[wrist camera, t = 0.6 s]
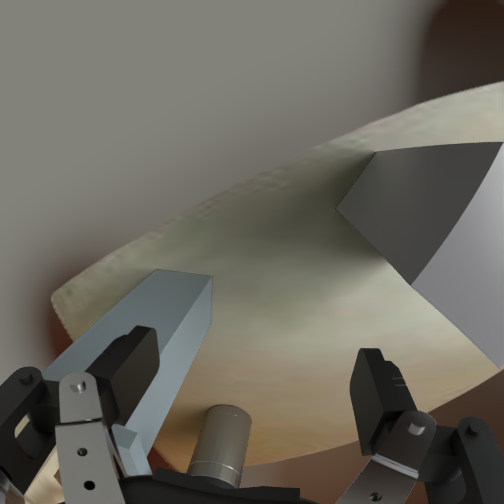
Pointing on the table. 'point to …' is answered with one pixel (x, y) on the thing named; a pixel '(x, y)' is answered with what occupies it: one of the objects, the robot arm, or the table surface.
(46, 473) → the brown wooden bar
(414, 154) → the grey tall block
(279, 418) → the table surface
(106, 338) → the tall plinth
